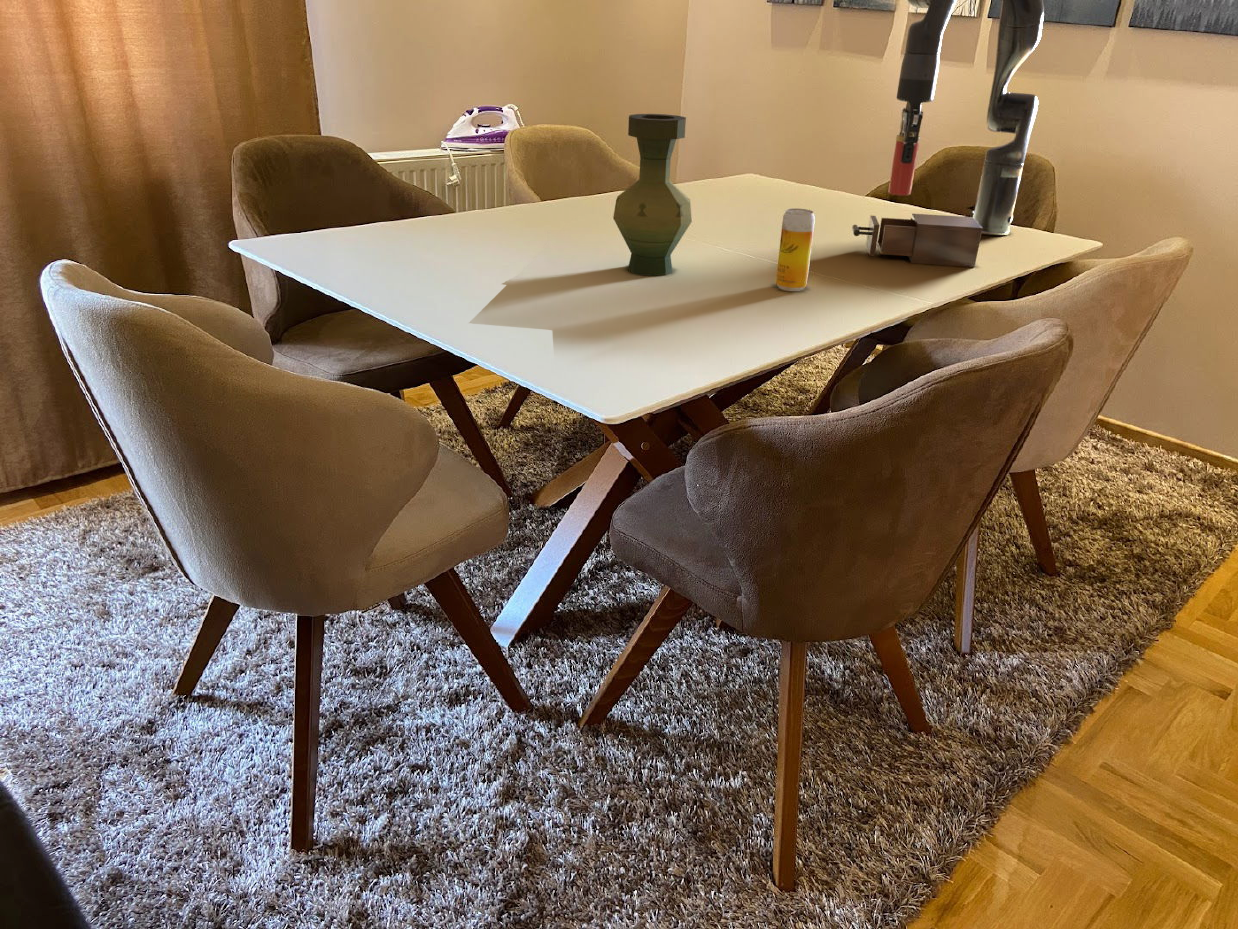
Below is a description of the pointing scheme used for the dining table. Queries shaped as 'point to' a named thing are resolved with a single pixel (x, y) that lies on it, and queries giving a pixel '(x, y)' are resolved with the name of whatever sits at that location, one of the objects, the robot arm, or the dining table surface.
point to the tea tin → (902, 169)
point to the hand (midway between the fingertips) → (904, 160)
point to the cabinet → (945, 240)
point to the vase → (653, 197)
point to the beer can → (795, 249)
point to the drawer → (889, 236)
